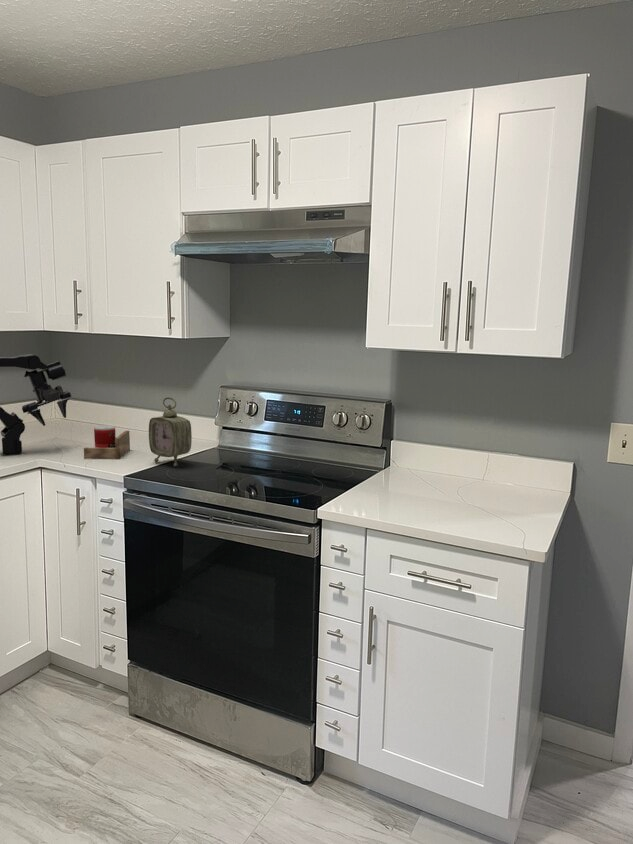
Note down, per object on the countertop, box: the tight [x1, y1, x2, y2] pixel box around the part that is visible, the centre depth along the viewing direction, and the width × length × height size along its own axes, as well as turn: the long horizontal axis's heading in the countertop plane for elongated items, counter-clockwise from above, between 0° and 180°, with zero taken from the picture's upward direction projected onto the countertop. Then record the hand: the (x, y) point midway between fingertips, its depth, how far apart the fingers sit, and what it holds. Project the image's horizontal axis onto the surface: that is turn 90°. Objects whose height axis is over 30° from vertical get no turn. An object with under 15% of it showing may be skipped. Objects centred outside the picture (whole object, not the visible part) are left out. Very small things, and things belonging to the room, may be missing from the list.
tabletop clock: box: [148, 397, 193, 467], centre depth 238 cm, size 14×9×25 cm, turn 54°
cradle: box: [83, 430, 131, 460], centre depth 253 cm, size 14×16×8 cm
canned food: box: [93, 424, 116, 448], centre depth 252 cm, size 8×8×11 cm
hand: (55, 421), depth 257 cm, fingers open, 9 cm apart
